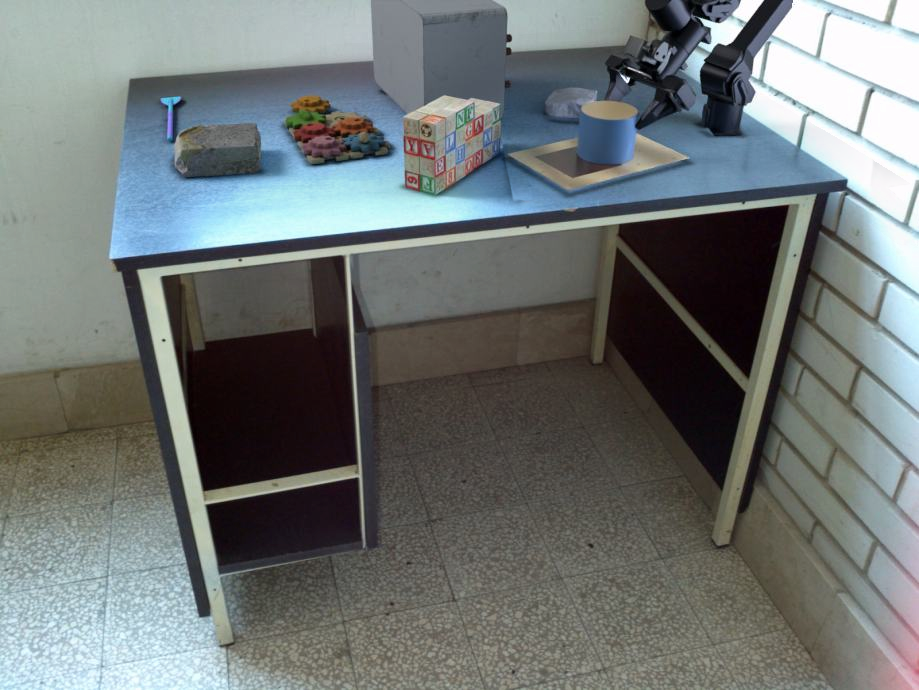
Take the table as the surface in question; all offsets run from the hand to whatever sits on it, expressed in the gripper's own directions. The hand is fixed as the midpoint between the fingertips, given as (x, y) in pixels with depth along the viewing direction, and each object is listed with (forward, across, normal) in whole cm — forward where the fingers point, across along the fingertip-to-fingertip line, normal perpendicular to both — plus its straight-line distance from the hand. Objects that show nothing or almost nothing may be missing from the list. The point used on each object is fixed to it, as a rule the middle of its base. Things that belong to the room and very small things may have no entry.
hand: (619, 120), depth 156 cm
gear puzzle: (+32, -38, -22) cm, 54 cm away
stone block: (0, -23, +10) cm, 25 cm away
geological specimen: (+49, -33, -39) cm, 71 cm away
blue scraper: (+49, -59, -39) cm, 86 cm away
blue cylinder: (+6, 0, +2) cm, 6 cm away
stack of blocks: (+25, -10, -15) cm, 30 cm away
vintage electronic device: (+14, -39, -4) cm, 42 cm away
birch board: (+8, 0, +2) cm, 8 cm away
